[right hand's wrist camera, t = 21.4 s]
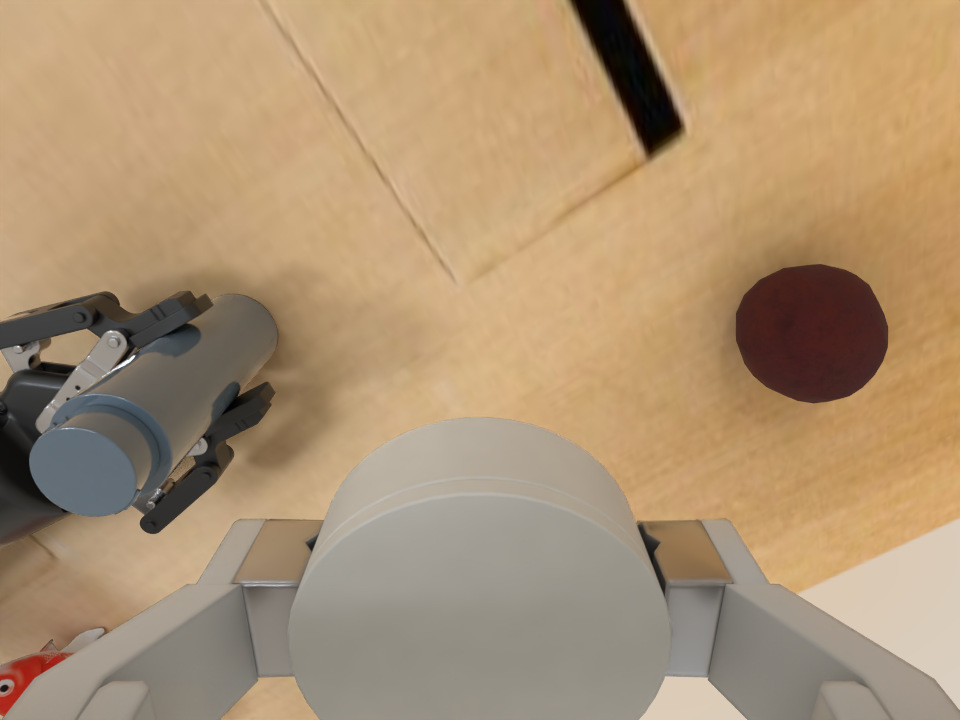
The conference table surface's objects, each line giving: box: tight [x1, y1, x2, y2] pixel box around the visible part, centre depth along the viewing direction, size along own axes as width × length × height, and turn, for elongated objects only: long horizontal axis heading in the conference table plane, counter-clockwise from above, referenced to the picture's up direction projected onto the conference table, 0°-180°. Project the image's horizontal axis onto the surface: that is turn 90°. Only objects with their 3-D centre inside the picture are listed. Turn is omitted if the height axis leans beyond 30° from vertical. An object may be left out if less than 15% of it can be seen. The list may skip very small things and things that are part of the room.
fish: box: [0, 628, 105, 716], centre depth 44 cm, size 11×16×10 cm
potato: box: [736, 264, 888, 403], centre depth 34 cm, size 7×8×7 cm
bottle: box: [29, 294, 278, 517], centre depth 30 cm, size 5×5×16 cm
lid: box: [288, 417, 672, 720], centre depth 10 cm, size 5×5×2 cm
